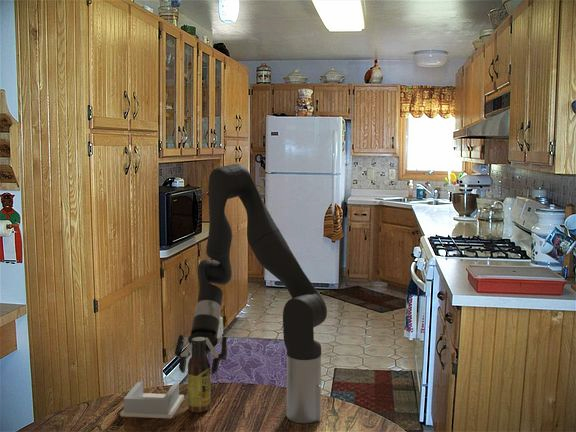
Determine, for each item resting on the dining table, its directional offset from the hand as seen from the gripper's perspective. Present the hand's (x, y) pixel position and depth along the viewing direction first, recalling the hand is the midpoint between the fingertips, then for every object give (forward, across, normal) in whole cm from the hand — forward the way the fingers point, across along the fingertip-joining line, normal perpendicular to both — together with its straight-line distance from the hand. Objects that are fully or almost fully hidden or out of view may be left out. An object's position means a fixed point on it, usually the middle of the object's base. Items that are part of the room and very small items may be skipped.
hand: (197, 372), depth 160 cm
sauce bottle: (+7, 0, +9) cm, 11 cm away
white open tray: (+7, -13, +8) cm, 17 cm away
